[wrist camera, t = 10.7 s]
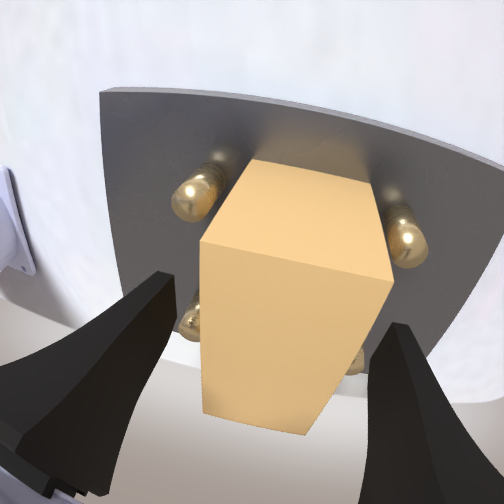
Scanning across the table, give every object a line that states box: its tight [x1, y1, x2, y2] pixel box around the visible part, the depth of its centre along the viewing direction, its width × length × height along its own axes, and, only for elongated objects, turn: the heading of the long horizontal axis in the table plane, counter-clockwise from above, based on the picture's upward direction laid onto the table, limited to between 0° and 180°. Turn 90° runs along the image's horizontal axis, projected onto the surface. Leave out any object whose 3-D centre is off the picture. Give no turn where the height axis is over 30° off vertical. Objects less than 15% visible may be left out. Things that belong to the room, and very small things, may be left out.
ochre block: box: [200, 159, 394, 435], centre depth 11 cm, size 4×8×5 cm, turn 173°
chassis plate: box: [99, 87, 504, 375], centre depth 12 cm, size 16×12×3 cm
